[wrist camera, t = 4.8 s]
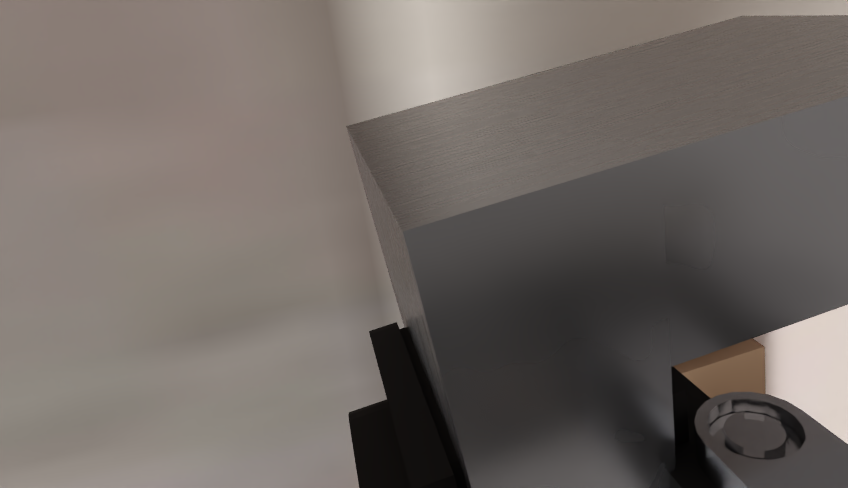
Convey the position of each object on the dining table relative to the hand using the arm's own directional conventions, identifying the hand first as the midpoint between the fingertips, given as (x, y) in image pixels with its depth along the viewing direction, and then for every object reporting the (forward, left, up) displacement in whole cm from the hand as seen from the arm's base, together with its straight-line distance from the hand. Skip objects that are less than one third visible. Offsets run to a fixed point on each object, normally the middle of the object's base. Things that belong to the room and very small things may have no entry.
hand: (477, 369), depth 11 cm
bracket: (-1, +3, -1) cm, 3 cm away
